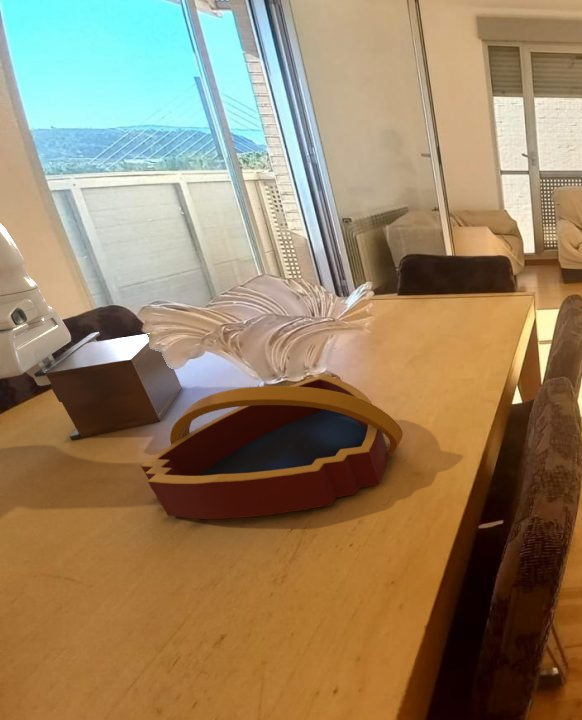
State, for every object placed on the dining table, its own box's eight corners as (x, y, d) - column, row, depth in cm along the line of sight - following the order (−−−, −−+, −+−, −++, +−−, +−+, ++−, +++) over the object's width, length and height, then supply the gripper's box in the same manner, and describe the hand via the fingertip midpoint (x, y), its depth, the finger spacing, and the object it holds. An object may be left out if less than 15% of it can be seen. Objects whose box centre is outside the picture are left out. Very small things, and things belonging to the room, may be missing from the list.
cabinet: (71, 440, 85) (33, 373, 80) (119, 388, 105) (91, 332, 100) (160, 421, 91) (130, 358, 86) (189, 375, 111) (167, 322, 105)
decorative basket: (114, 539, 65) (43, 458, 57) (254, 409, 90) (217, 340, 82) (359, 538, 65) (321, 456, 57) (432, 407, 89) (412, 338, 81)
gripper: (14, 298, 87) (51, 366, 93) (-60, 328, 71) (-9, 409, 76) (61, 292, 90) (95, 359, 95) (2, 321, 74) (46, 399, 79)
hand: (49, 382), depth 86 cm, fingers closed
